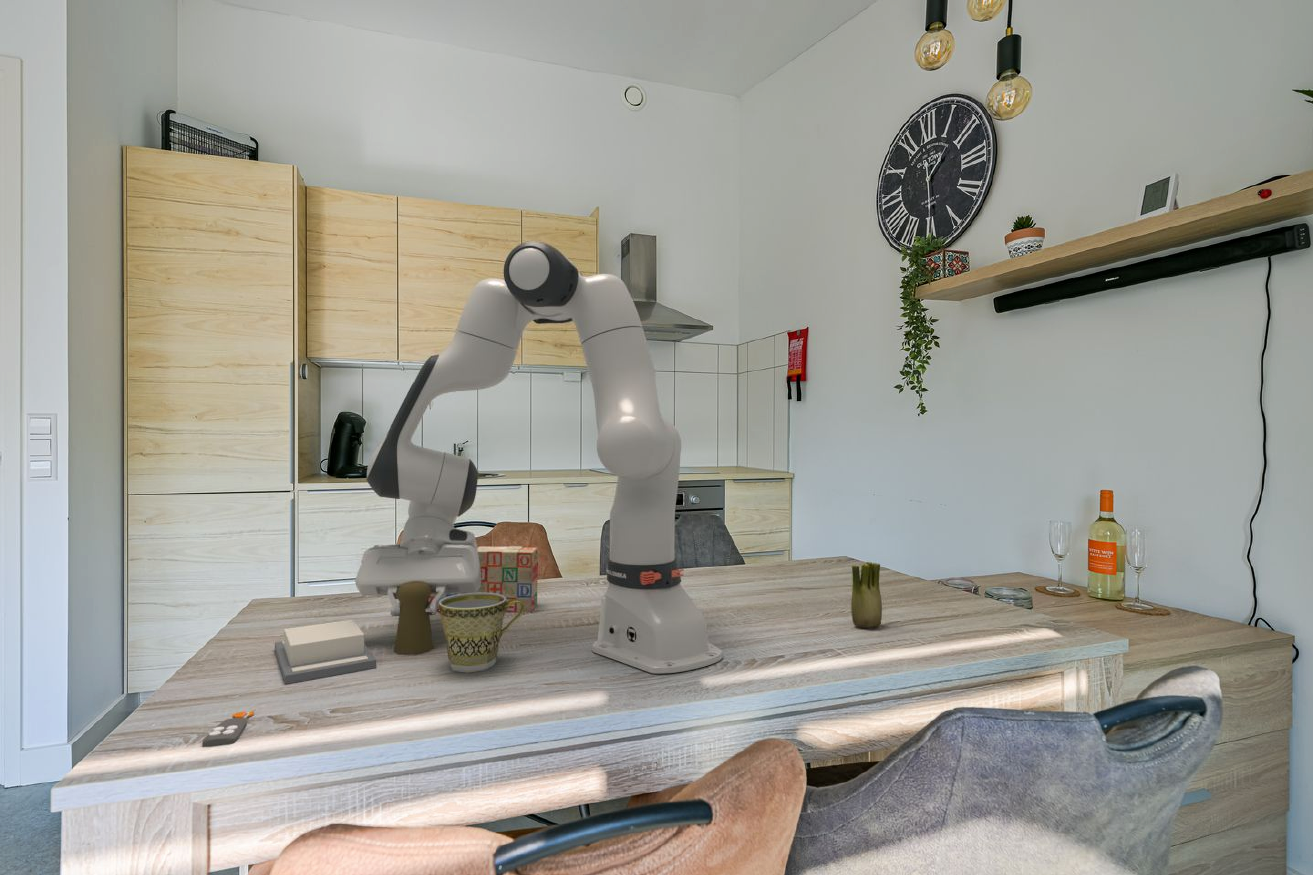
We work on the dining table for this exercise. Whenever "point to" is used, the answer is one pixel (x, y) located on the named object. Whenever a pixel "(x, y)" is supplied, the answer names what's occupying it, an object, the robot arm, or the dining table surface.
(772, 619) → the dining table surface
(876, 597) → the fennel bulb
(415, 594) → the cork
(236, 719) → the key chain
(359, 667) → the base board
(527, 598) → the stack of blocks
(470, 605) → the ceramic cup
